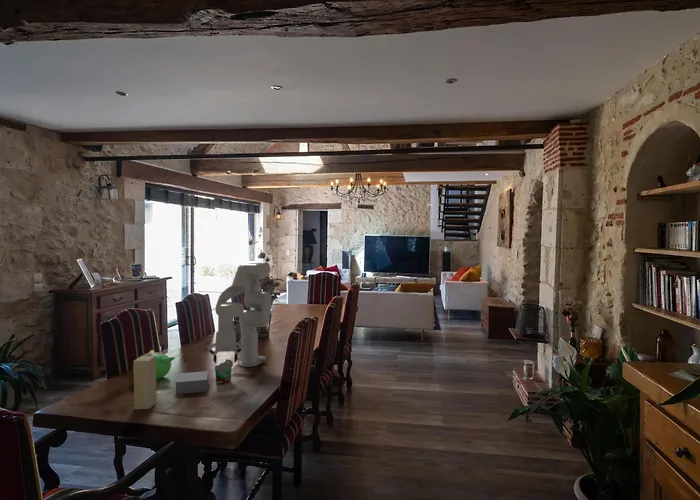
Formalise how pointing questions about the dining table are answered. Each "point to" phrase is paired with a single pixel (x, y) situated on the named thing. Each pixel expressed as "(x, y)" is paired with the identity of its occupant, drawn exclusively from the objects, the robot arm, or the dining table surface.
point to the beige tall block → (144, 382)
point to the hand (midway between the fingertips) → (225, 362)
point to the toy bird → (160, 363)
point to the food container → (223, 372)
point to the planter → (237, 331)
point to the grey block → (192, 382)
